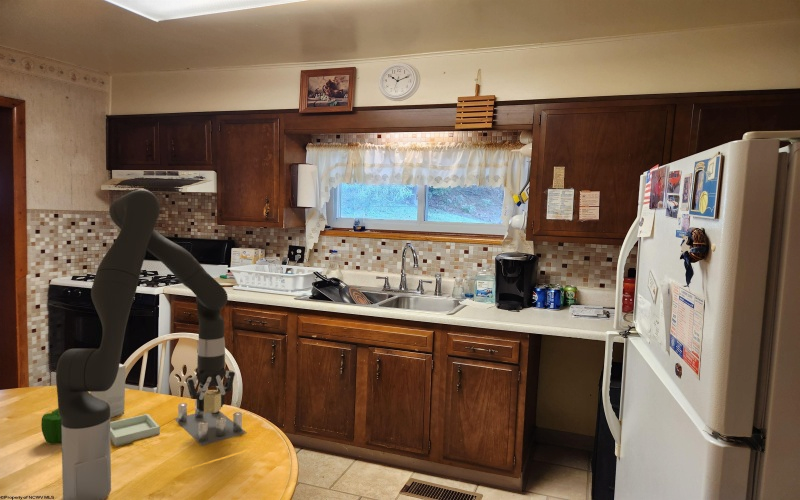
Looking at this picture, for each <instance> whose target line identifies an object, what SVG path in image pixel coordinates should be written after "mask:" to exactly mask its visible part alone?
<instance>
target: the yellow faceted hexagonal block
mask: <svg viewBox="0 0 800 500" xmlns="http://www.w3.org/2000/svg"><path fill="white" fill-rule="evenodd" d="M203 399H204V411H203V413H215V412H217V411H221V410H222V407H221V392H219V391H218V390H217V389H207V391H206V392H205V395H204V397H203Z"/></svg>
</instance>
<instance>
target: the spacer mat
mask: <svg viewBox="0 0 800 500" xmlns="http://www.w3.org/2000/svg"><path fill="white" fill-rule="evenodd" d="M220 416H223V417H225V436H223V437H217V436H216V418H217V417H220ZM174 420H175V421H176V423H178V425H180V426H181V427H182V428H183V429H184V430H185V431H186V432H187V433H188V434H189V435H190V436H191V437H192V438H193V439H194V440H195V441H196V442H198V444H199V445H200V446H201V447H203V446H206V445H209V444H213V443H217V442H220V441H223V440H226V439H230V438H233V437H238V436H241V435H244V434H247V431H246V430H244V429H243V428H242V431H240V432H234V431H233V420H232V419H231V418H229V417H228V416H226V415H225V414H224V413H223V412H221V410H219V413H218V414H211V413H203V417H202V418H195V413H193V414H187V421H186V422H178V417H176V418H174ZM201 421H207V422H208V440H207V441H205V442H199V441H198V440H199V422H201Z"/></svg>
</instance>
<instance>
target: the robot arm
mask: <svg viewBox="0 0 800 500" xmlns="http://www.w3.org/2000/svg"><path fill="white" fill-rule="evenodd" d="M160 206H161V205H160V202H159V200H158V198H157V196H156V195H155V194H154V193H153V192H151V191H150V190H149V189H142V188H141V189H140V188H139V189H136V190H132V191H130V192H128V193H126V194H124V195H122V196H120V197H119V198H116V199H115V200H114V201H113V202H112V203H110V207H109V209H108V211H109V216H110V218H111V220H112V222H113V223H114V224H115V225H116V226H117V228H119V229H120V231H119V233H118V235H117V237H116V239H115V241H114V242H113V243H112V244H111V246H110V247H109V249H108V250H107V252H106V253H105V255H104V256H103V258H102V259H101V260H100V261H101V262H100V263H99V265H98V267H97V270H96V272H95V276H94V279H93V282H92V286H91V289H90V290H91V291H90V296H91V300H92V303H93V305H94V307H95V308H94V309H95V310H96V313H97V314H98V317H99V320H100V322H101V326H102V327H101V328H102V336H101V342H100V346H99V348H70V349H67V350H65V351H64V352H63V353H62V354H61V356H60V357H59V358H58V361H57V364H56V371H55V381H56V395H57V409H58V410H59V414H60V416H61V422H62V443H61V456H62V457H61V470H62V471H61V473H62V475H61V476H62V478H61V479H62V500H104V499H107V498H108V497H109V496H108V495H109V494H110V492H111V491H112V490H111V489H112V466H111V465H112V464H111V463H112V461H111V457H112V456H111V454H112V453H111V451H112V450H111V442H112V441H111V439H110V422H111V418H110V406H109V404H108V403H107V402H105V401H103V400H100V399H98V398H96V397H94V396H92V395H91V394H90V392H102V391H107V390H108V389H110V388H111V387H112V385H113V383H114V382H115V379H116V376H117V373H118V369H119V364H121V360H122V359H121V358H122V352H123V345H124V340H125V339H124V338H125V334H126V330H127V329H126V328H127V324H128V321H129V318H130V317H129V316H130V314H131V308H132V305H133V303H134V299H135V296H136V293H137V289H138V284H139V281H140V276H141V271H142V267H143V264H144V261H145V257H146V252H149V253H151V254H152V255H153V256H154V257H155V258H156V259H158V260H159V261H160V262H161V263H162V264H163V265H164V266H165V267H166V268H167V269H168V270H169V271H170V272H171V273H172V275H174V276H175V278H176V279H177V280H178V281H179V282H180V283H181V284H182V285H184V286H185V287H186V288H188V289H189V290H191V292H192V293H193V294H194V295H195V296H196V297H195V302H196V303H195V305H196V312H197V318H198V340H197V350H196V351H197V352H196V353H197V360H196V361H197V362H196V364H197V372H196V374H195V376H192V377H187V378H186V379H185V382H186V385H187V390H188V394H189V396H190V397H191V398H192V399H193V400H197V409H198V410H199V411H200V412H203V411H204V399H203V397H204V395H205V392H206V391H207V390H209V389H210V388H211V387H216V390H218V391H219V392H221V408H223V406H224V405H225V395H226V393H228V392H231V391H232V387H233V385H234V384H233V383H234V379H235V375H236V373H235V372H234V371H233V370H231V369H229V370H226V369H225V365H226V362H225V361H226V341H225V320H224V318H223V316H222V313H221V309H223V308H224V307H225V306H226V304H228V301H229V300H228V293H227V291H226V289H225V288H224V287H223V286H222V285H221V284H220V283H219V282H218V281H217V280H216V279H215V278H214V277H212V276H211V274H209V273H208V272H207V271H206V269H205V268H204V267H203V265H202V264H201V263H200V262H199V261H198V260H197V259H196V258H195V256H193V254H192V253H190V252H189V251H188V250H187V249H186V248H184V247H183V246H181V245H179V244H177V243H176V242H173V241H172V240H170V239H168V238H166V237H165V236H164V235H162V234H160V233H159V232H158V231H157V230H156V229H155V226H156V225H157V222H158V219H159V216H160V211H161V210H160V209H161V208H160ZM224 378H225V382H224V384H223V379H224ZM197 381H198V382H199V385H198V386H197V387H198V388H197V390H196V386H195V385H196V384H197Z"/></svg>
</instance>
